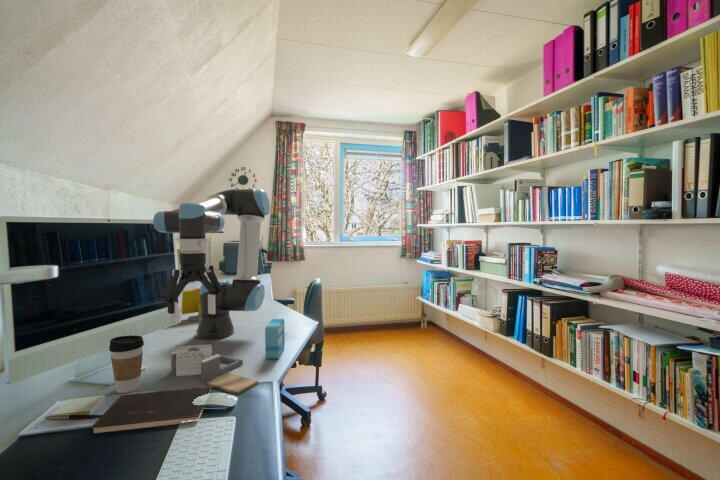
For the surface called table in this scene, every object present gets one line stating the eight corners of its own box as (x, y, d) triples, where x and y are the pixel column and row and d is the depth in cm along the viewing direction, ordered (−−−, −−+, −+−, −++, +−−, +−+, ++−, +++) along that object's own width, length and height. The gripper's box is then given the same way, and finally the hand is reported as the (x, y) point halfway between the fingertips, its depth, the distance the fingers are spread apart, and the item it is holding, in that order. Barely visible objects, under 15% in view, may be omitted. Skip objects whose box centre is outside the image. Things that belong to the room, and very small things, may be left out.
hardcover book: (198, 424, 85) (198, 415, 85) (91, 436, 80) (90, 426, 80) (212, 393, 101) (211, 385, 101) (122, 401, 96) (122, 393, 96)
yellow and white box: (221, 313, 188) (221, 284, 188) (226, 316, 182) (226, 286, 181) (181, 319, 176) (180, 288, 175) (185, 323, 169) (184, 290, 169)
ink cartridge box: (178, 373, 113) (177, 343, 113) (214, 370, 115) (214, 341, 114) (175, 376, 111) (174, 346, 110) (212, 374, 112) (212, 344, 112)
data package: (278, 360, 124) (277, 327, 123) (265, 360, 123) (264, 327, 123) (284, 348, 135) (284, 317, 135) (273, 348, 135) (272, 317, 135)
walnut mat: (206, 385, 105) (206, 382, 105) (227, 374, 112) (227, 372, 112) (237, 394, 99) (237, 392, 99) (258, 383, 106) (258, 380, 106)
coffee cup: (114, 384, 105) (112, 335, 104) (147, 379, 108) (145, 332, 107) (107, 397, 97) (105, 344, 96) (142, 392, 100) (140, 340, 100)
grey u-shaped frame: (170, 372, 114) (170, 352, 113) (210, 356, 127) (210, 338, 127) (204, 382, 106) (203, 361, 106) (243, 364, 120) (242, 345, 120)
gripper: (162, 255, 98) (164, 330, 99) (232, 250, 120) (232, 311, 121) (146, 254, 101) (147, 326, 102) (216, 249, 124) (217, 309, 124)
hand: (193, 318), depth 112 cm, fingers open, 13 cm apart
